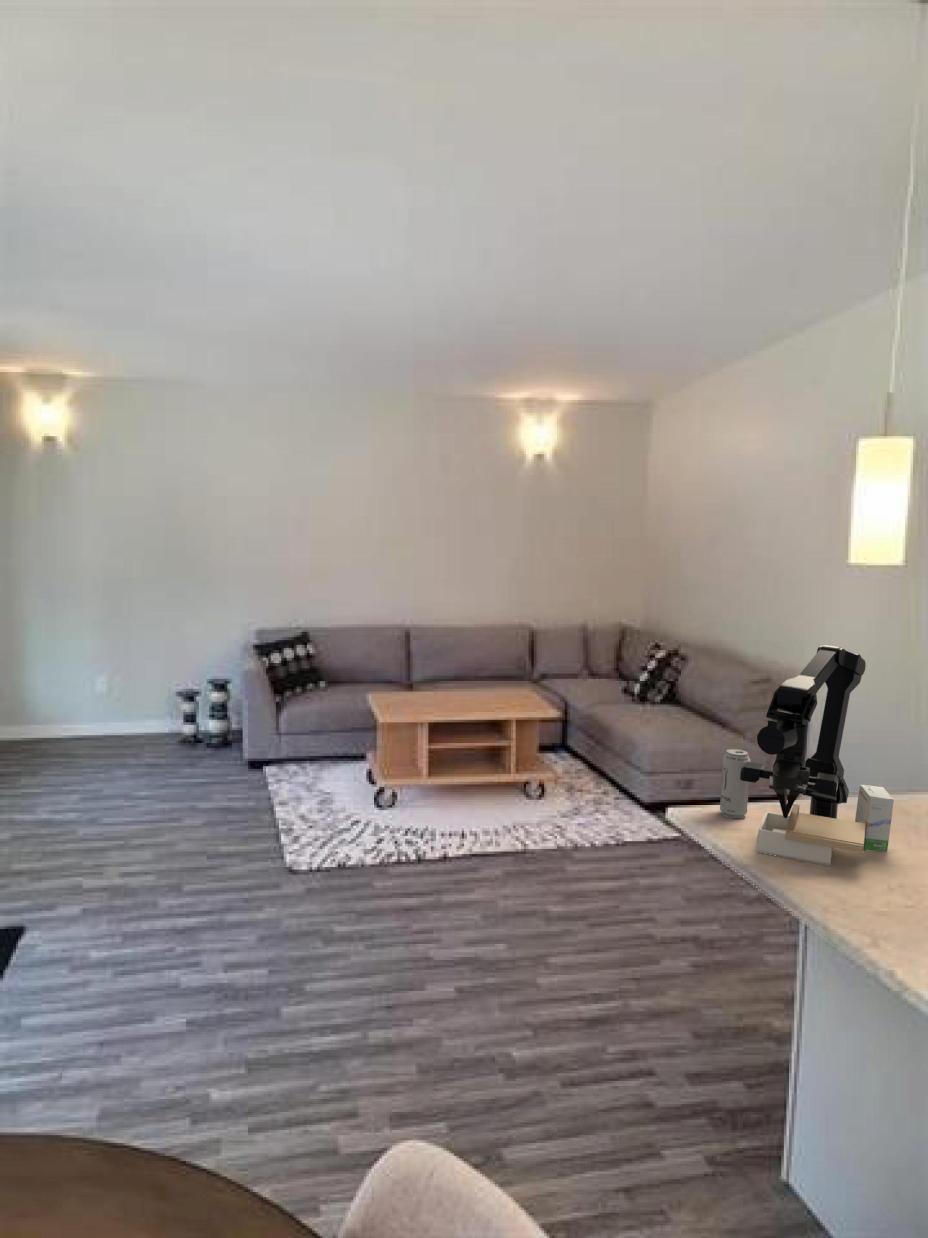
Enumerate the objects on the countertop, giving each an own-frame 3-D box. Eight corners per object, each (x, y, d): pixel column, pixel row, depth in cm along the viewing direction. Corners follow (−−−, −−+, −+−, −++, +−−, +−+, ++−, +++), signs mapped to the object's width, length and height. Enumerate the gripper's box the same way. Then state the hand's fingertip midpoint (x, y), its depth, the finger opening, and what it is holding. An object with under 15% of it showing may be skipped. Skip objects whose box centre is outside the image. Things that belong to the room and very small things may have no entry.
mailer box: (764, 833, 192) (765, 811, 191) (833, 846, 186) (835, 823, 185) (756, 852, 181) (758, 829, 180) (829, 866, 175) (831, 842, 174)
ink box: (852, 835, 192) (857, 783, 190) (878, 838, 191) (882, 785, 189) (863, 850, 183) (868, 796, 182) (889, 853, 182) (894, 798, 181)
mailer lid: (792, 817, 190) (793, 801, 189) (865, 830, 183) (866, 813, 183) (785, 839, 177) (786, 822, 177) (863, 853, 171) (864, 835, 171)
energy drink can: (716, 810, 206) (720, 748, 204) (741, 810, 206) (745, 748, 204) (724, 819, 200) (728, 755, 198) (750, 819, 200) (754, 755, 198)
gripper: (738, 747, 178) (733, 821, 180) (837, 762, 170) (830, 839, 172) (747, 735, 188) (741, 805, 190) (841, 748, 180) (834, 821, 182)
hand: (785, 817), depth 184 cm, fingers closed
